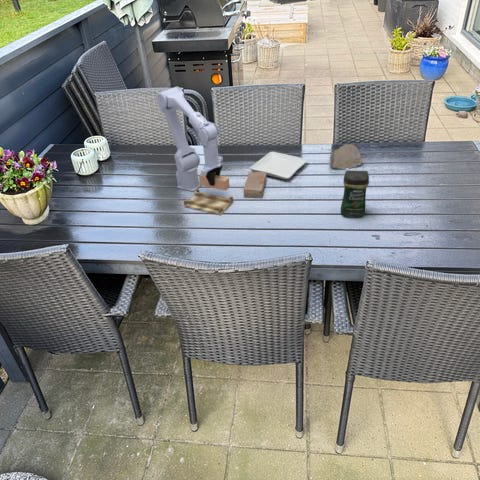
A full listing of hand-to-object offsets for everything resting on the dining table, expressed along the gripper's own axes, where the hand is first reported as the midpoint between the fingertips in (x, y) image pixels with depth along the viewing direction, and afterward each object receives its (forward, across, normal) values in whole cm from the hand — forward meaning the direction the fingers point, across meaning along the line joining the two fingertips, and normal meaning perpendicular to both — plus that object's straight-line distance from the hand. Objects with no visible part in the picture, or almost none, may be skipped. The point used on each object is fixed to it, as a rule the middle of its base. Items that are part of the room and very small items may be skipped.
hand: (214, 183), depth 192 cm
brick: (+8, +14, -12) cm, 21 cm away
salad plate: (+8, +36, -15) cm, 39 cm away
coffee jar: (+8, +10, -58) cm, 59 cm away
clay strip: (+2, 0, 0) cm, 2 cm away
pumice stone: (+8, +50, -43) cm, 66 cm away
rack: (+8, -5, 0) cm, 10 cm away
